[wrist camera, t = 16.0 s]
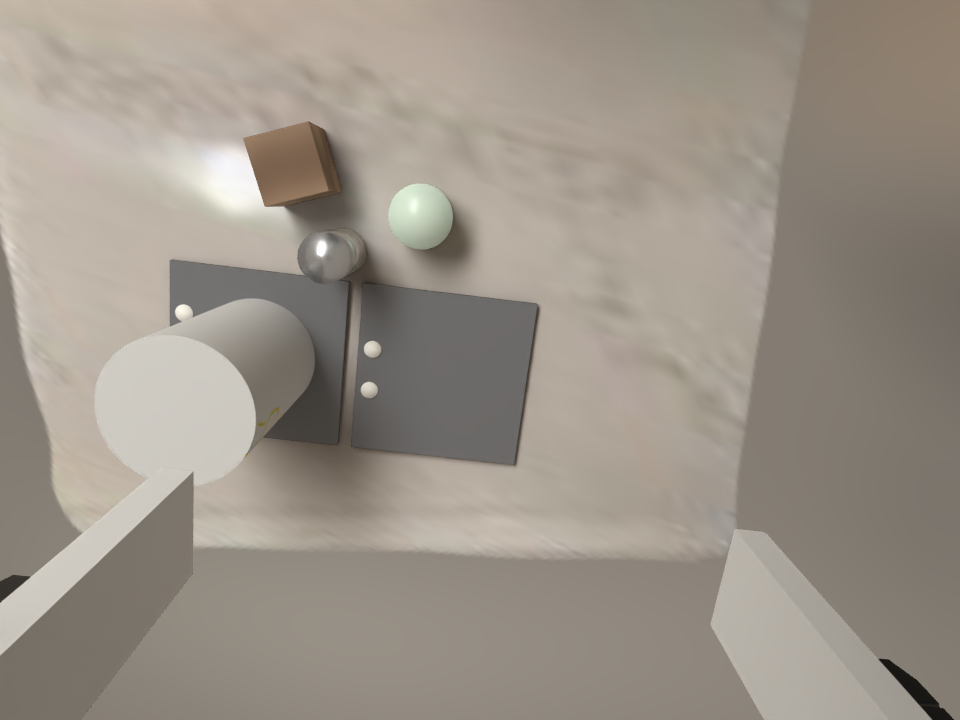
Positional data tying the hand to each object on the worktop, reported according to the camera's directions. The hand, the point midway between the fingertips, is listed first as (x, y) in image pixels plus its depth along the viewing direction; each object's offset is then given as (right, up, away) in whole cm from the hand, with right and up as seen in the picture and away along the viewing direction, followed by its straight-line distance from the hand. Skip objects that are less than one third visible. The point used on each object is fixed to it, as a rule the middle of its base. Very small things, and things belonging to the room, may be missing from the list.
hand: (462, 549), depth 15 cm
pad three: (-15, +5, +28) cm, 32 cm away
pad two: (-2, +3, +29) cm, 29 cm away
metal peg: (-9, +12, +27) cm, 30 cm away
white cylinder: (-15, +5, +28) cm, 32 cm away
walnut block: (-11, +17, +25) cm, 32 cm away
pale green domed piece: (-3, +14, +26) cm, 30 cm away
